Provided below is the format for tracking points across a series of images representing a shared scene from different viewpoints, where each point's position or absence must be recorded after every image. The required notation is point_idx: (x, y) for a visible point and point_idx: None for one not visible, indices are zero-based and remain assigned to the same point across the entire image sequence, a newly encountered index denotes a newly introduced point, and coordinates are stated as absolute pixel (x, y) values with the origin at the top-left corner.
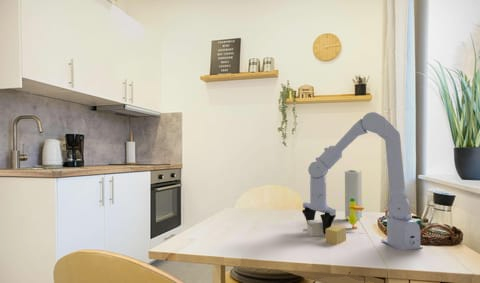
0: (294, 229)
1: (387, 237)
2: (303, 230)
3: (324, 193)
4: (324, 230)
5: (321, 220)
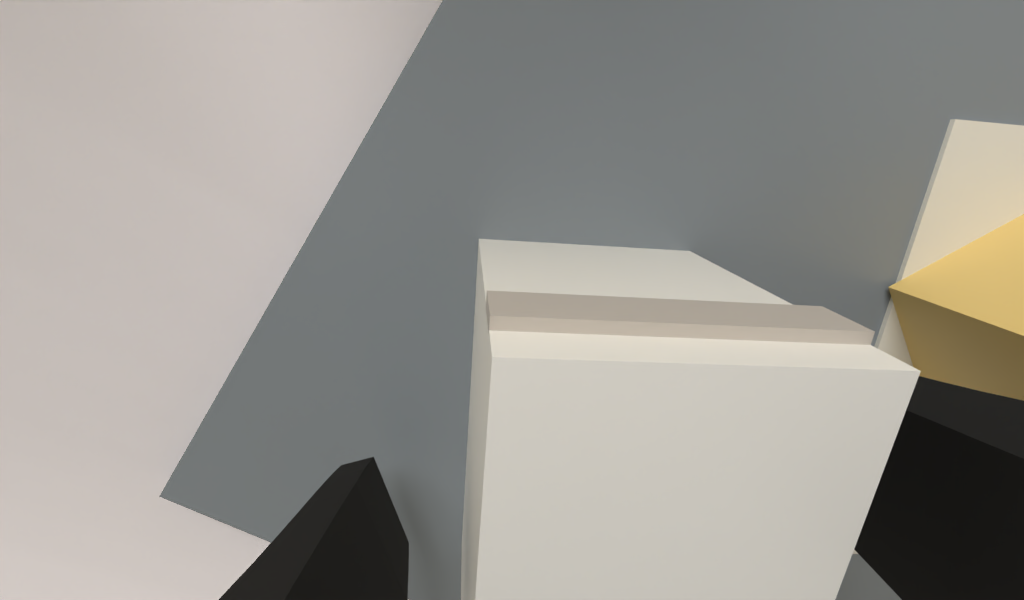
0: (117, 595)
1: None
2: (264, 533)
3: None
4: None
5: (624, 543)
